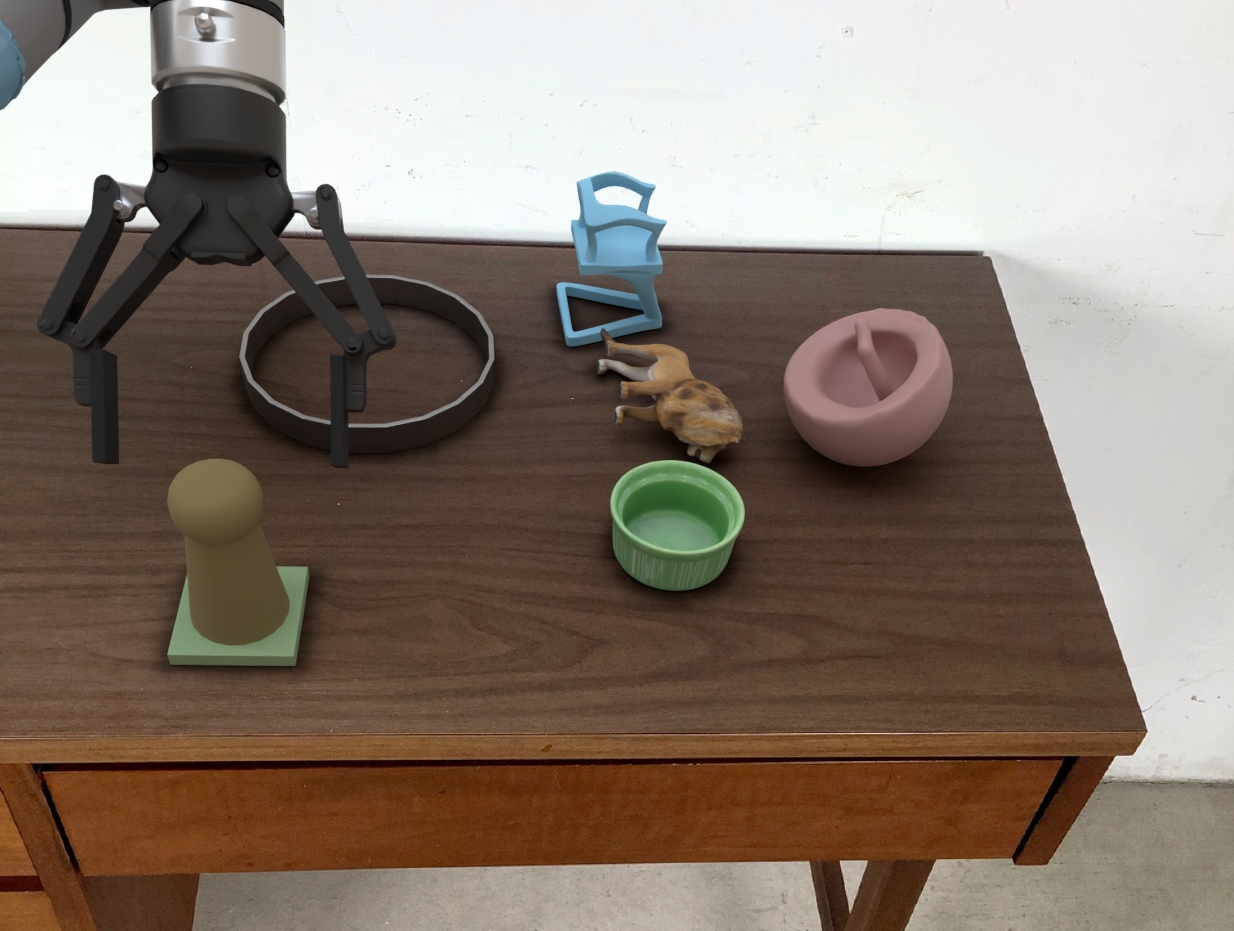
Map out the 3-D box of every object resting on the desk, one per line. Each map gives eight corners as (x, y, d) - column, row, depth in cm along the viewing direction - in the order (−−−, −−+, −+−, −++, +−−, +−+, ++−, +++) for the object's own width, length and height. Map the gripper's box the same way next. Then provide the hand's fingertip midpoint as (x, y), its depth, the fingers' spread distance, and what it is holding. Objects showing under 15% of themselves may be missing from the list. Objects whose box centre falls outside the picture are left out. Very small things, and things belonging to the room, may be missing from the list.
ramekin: (755, 583, 83) (767, 538, 79) (632, 611, 80) (638, 565, 77) (705, 495, 88) (713, 449, 85) (587, 518, 85) (591, 472, 82)
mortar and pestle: (758, 395, 96) (785, 269, 87) (905, 396, 97) (945, 272, 89) (786, 500, 88) (818, 373, 80) (944, 500, 90) (993, 375, 81)
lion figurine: (622, 474, 88) (741, 472, 90) (631, 415, 84) (755, 414, 86) (590, 356, 98) (698, 356, 100) (597, 298, 94) (709, 299, 96)
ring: (203, 423, 89) (196, 395, 87) (302, 282, 101) (299, 256, 99) (450, 476, 87) (450, 450, 85) (521, 327, 99) (522, 301, 97)
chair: (667, 345, 99) (685, 212, 90) (565, 347, 98) (573, 212, 89) (652, 290, 104) (667, 159, 95) (555, 291, 103) (562, 158, 94)
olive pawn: (306, 621, 76) (284, 492, 68) (212, 659, 73) (178, 531, 65) (266, 560, 79) (240, 430, 71) (175, 595, 76) (137, 464, 68)
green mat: (170, 665, 74) (166, 654, 73) (191, 574, 79) (189, 564, 78) (295, 666, 75) (293, 656, 74) (309, 576, 80) (307, 566, 79)
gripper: (-32, 65, 66) (-21, 458, 68) (432, 88, 69) (432, 465, 71) (20, 112, 74) (29, 464, 75) (437, 131, 76) (436, 471, 78)
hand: (224, 466), depth 73 cm, fingers open, 13 cm apart
